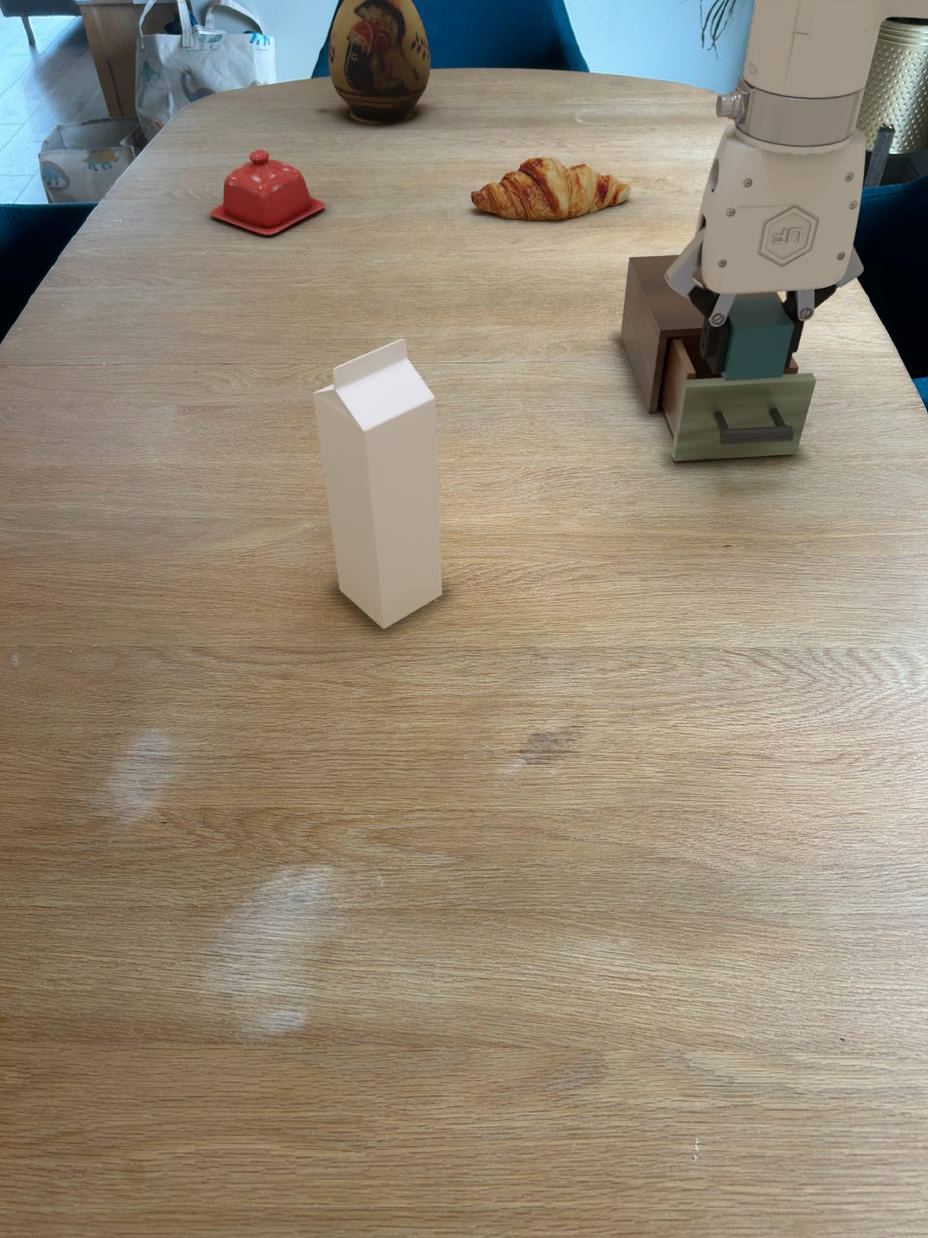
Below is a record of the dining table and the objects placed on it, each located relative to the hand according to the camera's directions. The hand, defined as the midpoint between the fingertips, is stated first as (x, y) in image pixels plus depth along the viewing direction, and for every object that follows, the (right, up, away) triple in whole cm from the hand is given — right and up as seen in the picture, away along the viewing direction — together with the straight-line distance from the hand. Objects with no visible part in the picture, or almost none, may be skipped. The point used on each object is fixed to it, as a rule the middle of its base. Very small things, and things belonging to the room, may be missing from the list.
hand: (745, 359), depth 77 cm
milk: (-28, -18, +4) cm, 33 cm away
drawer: (+3, -2, +18) cm, 18 cm away
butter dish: (-47, +33, +54) cm, 79 cm away
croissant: (-10, +34, +55) cm, 65 cm away
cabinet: (+2, +5, +26) cm, 27 cm away
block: (0, 0, 0) cm, 0 cm away
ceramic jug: (-35, +59, +80) cm, 106 cm away
